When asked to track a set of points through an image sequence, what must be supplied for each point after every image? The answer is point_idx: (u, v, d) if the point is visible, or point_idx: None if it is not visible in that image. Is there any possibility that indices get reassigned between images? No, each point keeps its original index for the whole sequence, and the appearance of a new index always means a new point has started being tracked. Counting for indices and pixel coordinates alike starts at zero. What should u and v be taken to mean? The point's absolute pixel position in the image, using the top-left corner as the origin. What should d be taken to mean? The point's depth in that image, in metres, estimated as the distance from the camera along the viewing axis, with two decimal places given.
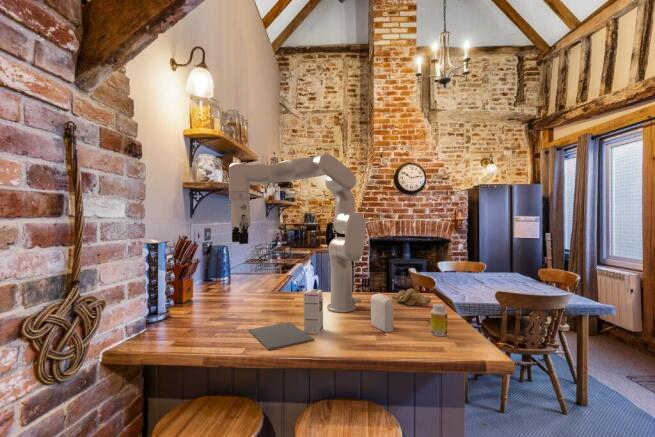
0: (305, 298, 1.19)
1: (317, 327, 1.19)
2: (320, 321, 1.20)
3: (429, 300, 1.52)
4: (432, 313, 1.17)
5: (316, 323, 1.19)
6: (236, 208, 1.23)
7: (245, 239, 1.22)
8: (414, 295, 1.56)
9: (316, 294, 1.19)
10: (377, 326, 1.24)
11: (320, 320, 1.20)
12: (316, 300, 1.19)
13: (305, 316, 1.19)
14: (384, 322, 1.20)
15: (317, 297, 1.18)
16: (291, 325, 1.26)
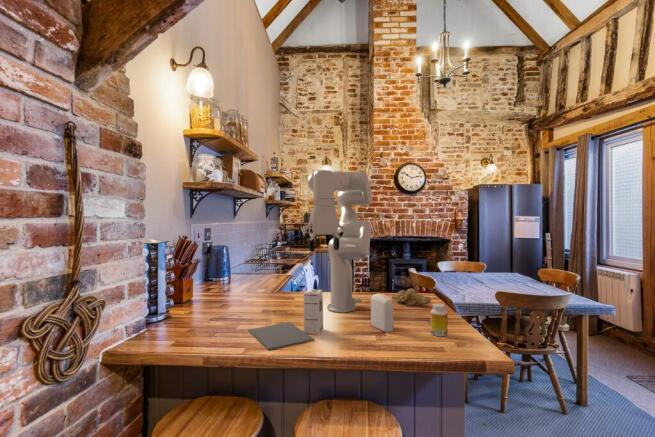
0: (305, 298, 1.19)
1: (317, 327, 1.19)
2: (320, 321, 1.20)
3: (429, 300, 1.52)
4: (432, 313, 1.17)
5: (316, 323, 1.19)
6: (335, 215, 1.25)
7: None
8: (414, 295, 1.56)
9: (316, 294, 1.19)
10: (377, 326, 1.24)
11: (320, 320, 1.20)
12: (316, 300, 1.19)
13: (305, 316, 1.19)
14: (384, 322, 1.20)
15: (317, 297, 1.18)
16: (291, 325, 1.26)
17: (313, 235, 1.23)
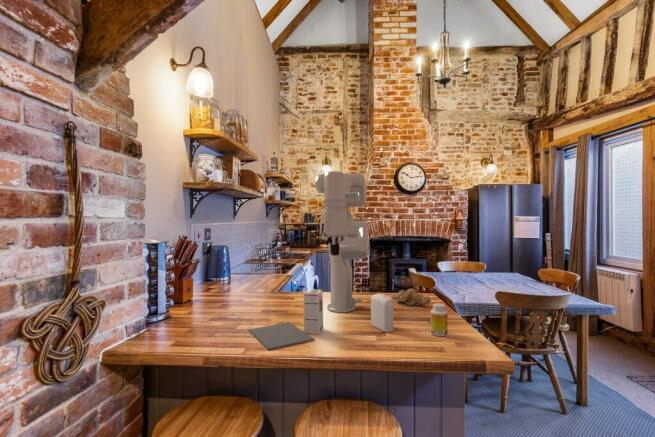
0: (305, 298, 1.19)
1: (317, 327, 1.19)
2: (320, 321, 1.20)
3: (429, 300, 1.52)
4: (432, 313, 1.17)
5: (316, 323, 1.19)
6: (346, 217, 1.26)
7: None
8: (414, 295, 1.56)
9: (316, 294, 1.19)
10: (377, 326, 1.24)
11: (320, 320, 1.20)
12: (316, 300, 1.19)
13: (305, 316, 1.19)
14: (384, 322, 1.20)
15: (317, 297, 1.18)
16: (291, 325, 1.26)
17: (333, 239, 1.24)
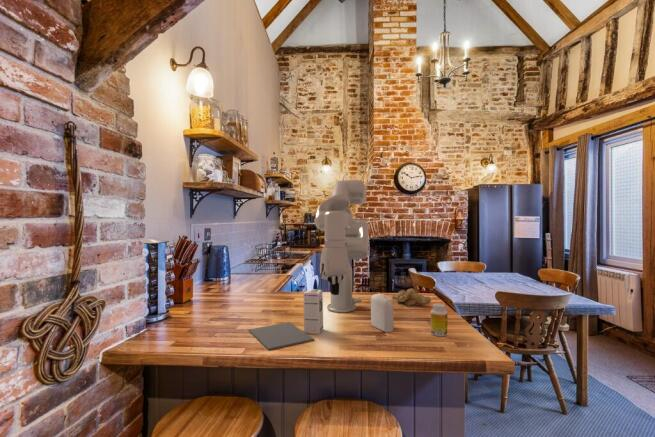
0: (305, 298, 1.19)
1: (317, 327, 1.19)
2: (320, 321, 1.20)
3: (429, 300, 1.52)
4: (432, 313, 1.17)
5: (316, 323, 1.19)
6: (346, 256, 1.26)
7: None
8: (414, 295, 1.56)
9: (316, 294, 1.19)
10: (377, 326, 1.24)
11: (320, 320, 1.20)
12: (316, 300, 1.19)
13: (305, 316, 1.19)
14: (384, 322, 1.20)
15: (317, 297, 1.18)
16: (291, 325, 1.26)
17: (333, 278, 1.24)
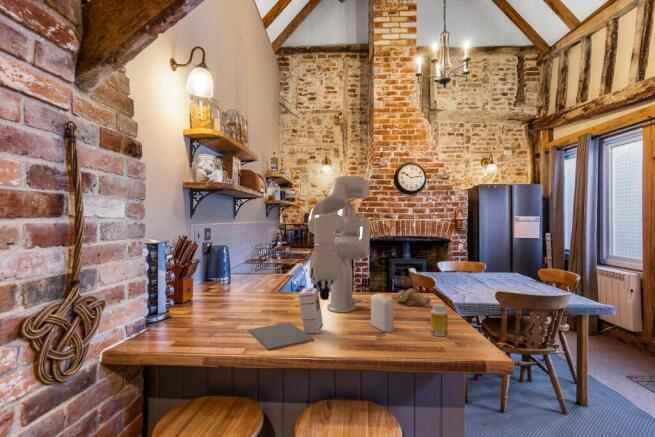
0: (301, 299, 1.18)
1: (317, 326, 1.18)
2: (319, 320, 1.19)
3: (429, 300, 1.52)
4: (432, 313, 1.17)
5: (315, 322, 1.18)
6: (336, 260, 1.24)
7: None
8: (414, 295, 1.56)
9: (311, 294, 1.17)
10: (377, 326, 1.24)
11: (318, 319, 1.19)
12: (312, 300, 1.18)
13: (303, 317, 1.19)
14: (384, 322, 1.20)
15: (313, 297, 1.17)
16: (291, 325, 1.26)
17: (322, 283, 1.22)
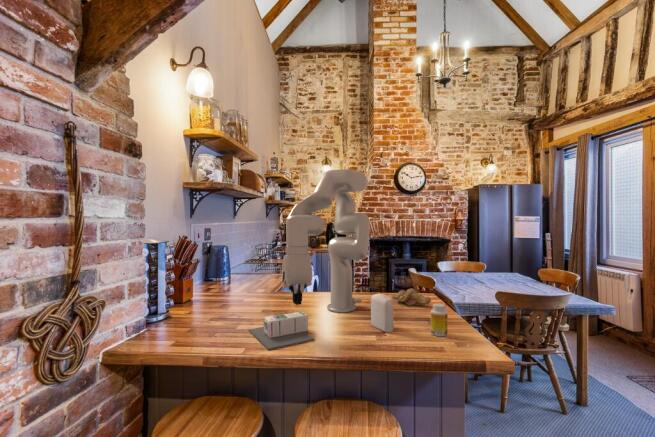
0: (275, 334, 1.14)
1: (301, 317, 1.19)
2: (295, 315, 1.20)
3: (429, 300, 1.52)
4: (432, 313, 1.17)
5: (298, 319, 1.19)
6: (310, 263, 1.18)
7: None
8: (414, 295, 1.56)
9: (270, 323, 1.14)
10: (377, 326, 1.24)
11: (294, 315, 1.19)
12: (276, 322, 1.15)
13: (292, 331, 1.17)
14: (384, 322, 1.20)
15: (273, 322, 1.14)
16: None
17: (295, 287, 1.16)
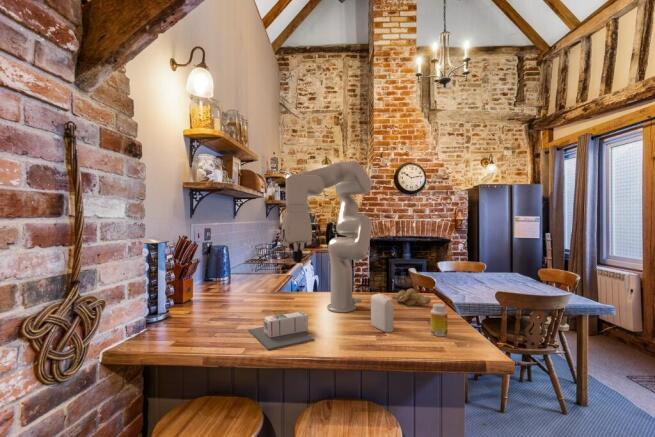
0: (275, 334, 1.14)
1: (301, 317, 1.19)
2: (295, 315, 1.20)
3: (429, 300, 1.52)
4: (432, 313, 1.17)
5: (298, 319, 1.19)
6: (309, 222, 1.19)
7: None
8: (414, 295, 1.56)
9: (270, 323, 1.14)
10: (377, 326, 1.24)
11: (294, 315, 1.20)
12: (276, 322, 1.15)
13: (292, 331, 1.17)
14: (384, 322, 1.20)
15: (273, 321, 1.14)
16: None
17: (295, 245, 1.17)
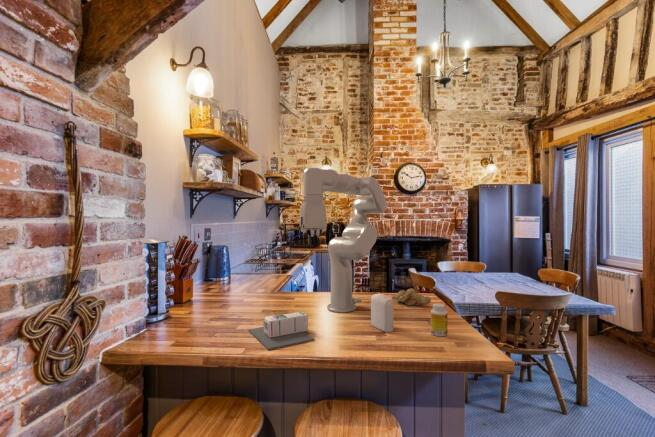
0: (275, 334, 1.14)
1: (301, 317, 1.19)
2: (295, 315, 1.20)
3: (429, 300, 1.52)
4: (432, 313, 1.17)
5: (298, 319, 1.19)
6: (324, 210, 1.34)
7: None
8: (414, 295, 1.56)
9: (270, 323, 1.14)
10: (377, 326, 1.24)
11: (294, 315, 1.20)
12: (276, 322, 1.15)
13: (292, 331, 1.17)
14: (384, 322, 1.20)
15: (273, 321, 1.14)
16: None
17: (311, 231, 1.32)
